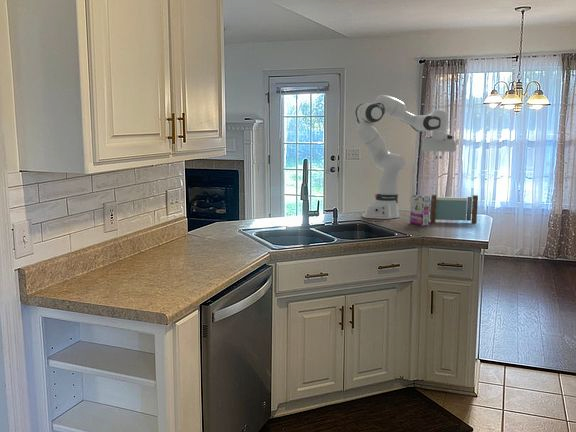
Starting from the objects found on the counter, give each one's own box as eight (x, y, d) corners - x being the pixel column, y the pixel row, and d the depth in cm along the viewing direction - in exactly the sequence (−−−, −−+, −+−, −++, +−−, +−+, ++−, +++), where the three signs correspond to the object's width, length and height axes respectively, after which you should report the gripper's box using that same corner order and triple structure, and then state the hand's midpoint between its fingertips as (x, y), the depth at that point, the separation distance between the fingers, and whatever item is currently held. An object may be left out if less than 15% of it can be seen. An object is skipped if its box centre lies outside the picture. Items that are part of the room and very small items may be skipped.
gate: (430, 219, 322) (431, 196, 320) (429, 218, 325) (430, 195, 323) (471, 220, 318) (472, 197, 316) (470, 220, 321) (471, 196, 319)
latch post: (431, 222, 320) (432, 195, 318) (430, 222, 322) (431, 194, 320) (435, 223, 320) (436, 195, 317) (435, 222, 322) (436, 194, 320)
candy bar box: (429, 225, 311) (430, 196, 309) (422, 226, 309) (423, 197, 307) (416, 222, 321) (417, 194, 319) (409, 223, 319) (410, 194, 317)
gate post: (472, 223, 318) (473, 195, 316) (471, 222, 321) (472, 195, 319) (476, 223, 318) (478, 195, 315) (475, 222, 321) (477, 195, 318)
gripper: (422, 136, 341) (421, 158, 343) (456, 136, 338) (455, 159, 340) (421, 136, 347) (420, 158, 350) (455, 136, 344) (454, 158, 346)
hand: (438, 158), depth 345 cm, fingers closed
